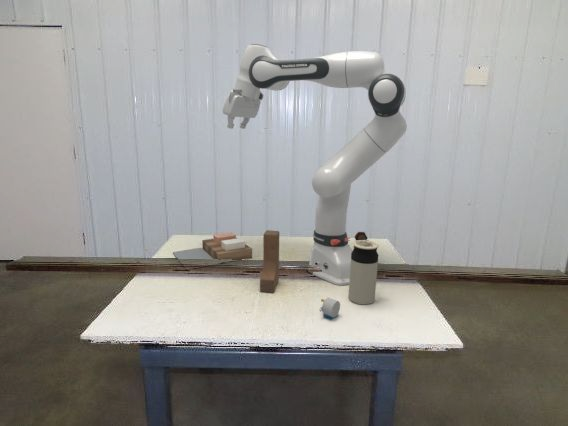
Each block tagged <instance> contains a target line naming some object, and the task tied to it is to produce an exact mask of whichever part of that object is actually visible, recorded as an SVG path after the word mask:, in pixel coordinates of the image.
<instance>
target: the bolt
mask: <svg viewBox="0 0 568 426" xmlns="http://www.w3.org/2000/svg"><path fill="white" fill-rule="evenodd" d="M354 239H355V241H357V240H368V241H370V240H369V239H368V236H367V235H366V232H364V231H357V233H356V234H355V236H354Z"/></svg>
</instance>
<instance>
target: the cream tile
mask: <svg viewBox="0 0 568 426" xmlns="http://www.w3.org/2000/svg"><path fill="white" fill-rule="evenodd" d="M236 238H237V237H236ZM245 244H246V241H245V240H243V239H242V238H241V237H238V238H237V239H230V240H223V241H221V247H222V248H223V249H225V250H226V251H227V250H233V249H239V248H245Z"/></svg>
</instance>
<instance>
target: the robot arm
mask: <svg viewBox="0 0 568 426" xmlns="http://www.w3.org/2000/svg"><path fill="white" fill-rule="evenodd" d="M293 81H294V82H296V81H306V82H307V81H308V82H313V83H317V84H319V85H322V86H325V87H330V88H337V89H348V88H349V89H350V88H352V89H353V88H362V89H363V88H364V89H366V90H367V91H368V92H367V97H368V100H369V104H370V105H371V107H372V110H373V111H374V114H375V115H374V117H373V119H372V120H371V121H370V122H369V123H368V124H367V125H366V126H364V128H363V129H362V130H360V131H359V132H357V134H356V135H355V136H354V137H353V138H351V140H350V141H348V143H346V145H344V146H343V147H342V148H341V149H340V150H338V151H337V152H336V153H335V154H333V156H331V157H330V158H329V159H328V160H327V161H325V163H323V164H322V165H321V166H320V167H318V169H317V170H316V171H315V172H314V174H313V176H312V179H311V185H312V189H313V191H314V192H315V193H316V194H317V195H318V196H319V197H318V200H317V205H316V209H315V222H314V223H315V225H314V226H315V227H314V230H313V234H312V235H313V241H314V242H313V245H312V247H311V250H310V257H309V264H308V266H309V265H313V266H317V267H319V268H320V269H321V270H322V272H313V274H312V275H313V276H315V277H317V278H320V279H322V280H325V281H326V282H329V283H331V284H332V285H333V284H334V285H338V286H346V285H349V281H350V266H351V253H352V251H353V248H351V246H350V244H349V242H350V241H351V237H348V234H347V212H348V206H349V200H350V193H351V186H352V183H354V182H355V181H356V180H357V179H358V178H360V176H362V175H363V174H364V173H366V171H367V170H369V169H370V168H371V167H372V166H373V165H374V164H376V163H377V162H378V161H379V160H381V158H383V157H384V155H385V154H387V153H388V152H389V151H390V150H392V148H393V147H394V146H395V145H396V144H397V143H398V142H399V140H401V138H402V137H403V136H404V134H405V133H406V132H407V130H408V129H407V128H408V125H407V121H406V119H405V117H404V116H403V115H402V114H401V111H400V110H401V107H402V106H403V104H404V102H405V101H406V100H405V99H406V95H407V90H406V89H407V88H406V86H405V83H404V82H403V81H402V80H401V78H400V77H399V76H397V75H395V74H391V73H386V72H385V62H384V59H383V57H382V55H381V54H380V53H378V52H375V51H367V50H366V51H365V50H353V51H343V52H342V51H341V52H336V53H330V54H327V55H323V56H316V57H312V58H300V59H298V58H297V59H286V60H285V59H281V60H280V59H278V58H277V57H275V56H274V54H273V52H271V50H270V48H269V47H268V46H266V45H262V44H257V43H252V44H248V45H247V46H246V49H245V50H244V53H243V55H242V57H241V61H240V65H239V73H238V75H237V77H236V82H235V85H234V88H233V89H232V90H231V91H230V92H229V93H228V94H227V96H226V99H225V102H224V105H223V107H222V113H223V115H226V116H227V128H228V129H230V130H231V129H234V126H235V124H234V120H235V119H236V118H243V119H242V122H241V123H240V125H239V128H240V129H242V130H243V129H246V127H247V124H248V123H249V122H250V119H255V118H257V116H258V114H259V113H258V112H259V110H260V107H261V101H262V100H263V99H264V94H263V93H262V91H261V89H265V90H270V91H282V90H285V88H287V87H288V85H289V83H290V82H293Z"/></svg>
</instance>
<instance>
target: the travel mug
mask: <svg viewBox="0 0 568 426" xmlns="http://www.w3.org/2000/svg"><path fill="white" fill-rule="evenodd" d="M368 240H369V239H367V240H357V241H356V240H355V241H353V242H352V245H353V248H352V250H353V251H352V253H351V266H350V281H349V284H348V299H349V300H350V301H351V302H353V303H355V304H357V305H369V304H373V303H374V302H375V301H376V289H377V278H378V277H377V276H378V266H379V253H378V248H379V244H378V242H375V241H373V240H369V241H368Z"/></svg>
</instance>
